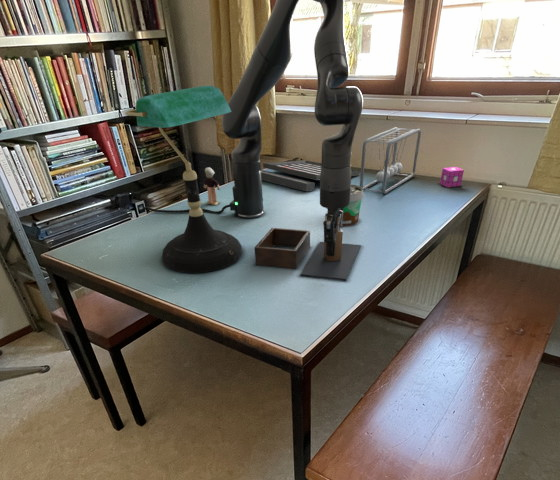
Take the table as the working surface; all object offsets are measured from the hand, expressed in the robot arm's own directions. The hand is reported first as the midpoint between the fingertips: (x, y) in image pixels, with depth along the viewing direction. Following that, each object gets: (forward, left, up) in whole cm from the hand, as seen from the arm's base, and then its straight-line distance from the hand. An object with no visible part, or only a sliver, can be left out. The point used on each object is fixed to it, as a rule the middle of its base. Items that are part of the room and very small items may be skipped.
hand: (332, 250), depth 114 cm
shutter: (-29, +80, -3) cm, 85 cm away
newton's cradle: (+6, +76, -3) cm, 76 cm away
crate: (-14, 0, -3) cm, 14 cm away
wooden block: (0, 0, -2) cm, 2 cm away
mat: (0, 0, -3) cm, 3 cm away
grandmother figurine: (-54, +39, -3) cm, 67 cm away
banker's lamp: (-37, -5, -3) cm, 37 cm away
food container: (0, +31, -3) cm, 31 cm away
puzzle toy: (+30, +78, -3) cm, 84 cm away
